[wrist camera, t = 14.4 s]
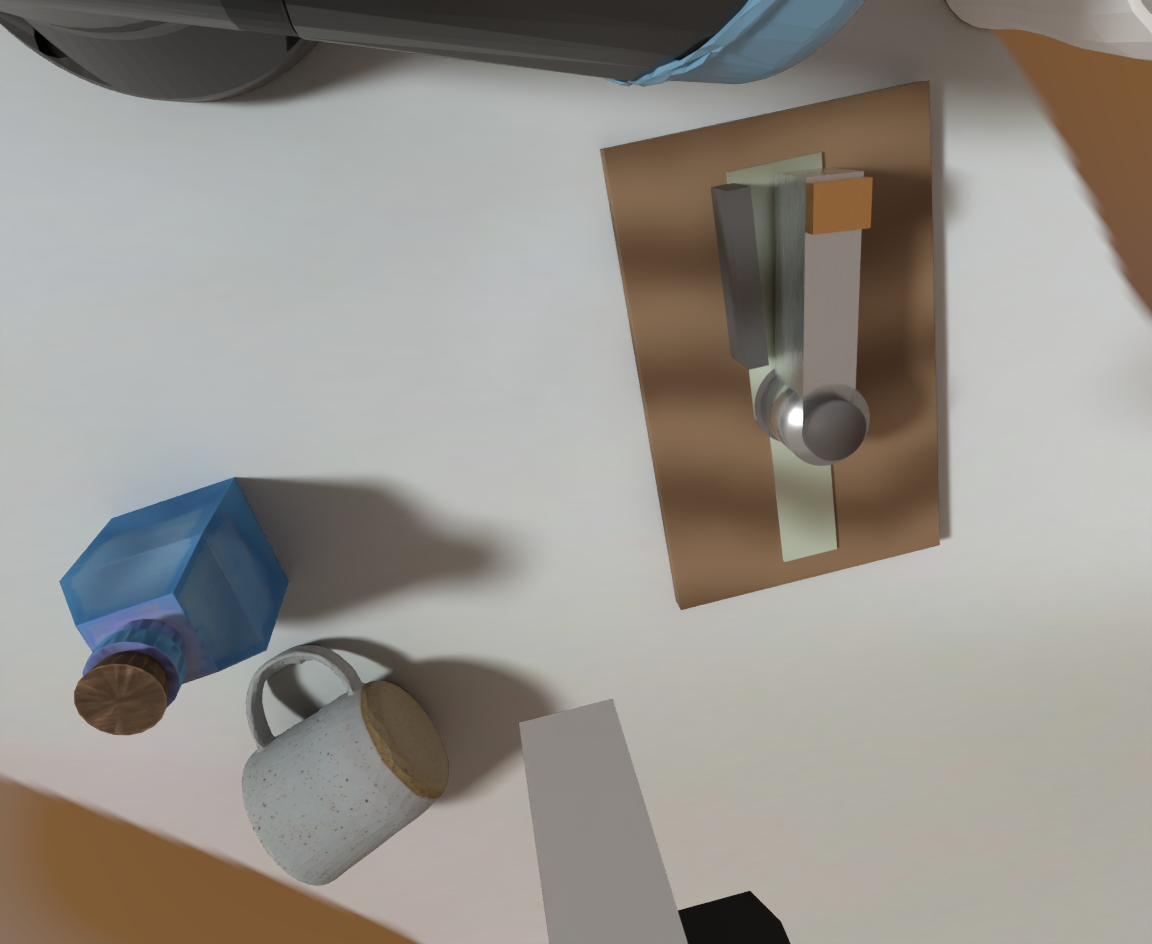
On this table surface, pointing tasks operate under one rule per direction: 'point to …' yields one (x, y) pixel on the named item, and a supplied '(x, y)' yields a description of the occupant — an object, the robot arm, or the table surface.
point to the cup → (1070, 21)
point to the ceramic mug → (339, 772)
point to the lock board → (747, 345)
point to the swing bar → (815, 298)
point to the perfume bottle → (170, 603)
